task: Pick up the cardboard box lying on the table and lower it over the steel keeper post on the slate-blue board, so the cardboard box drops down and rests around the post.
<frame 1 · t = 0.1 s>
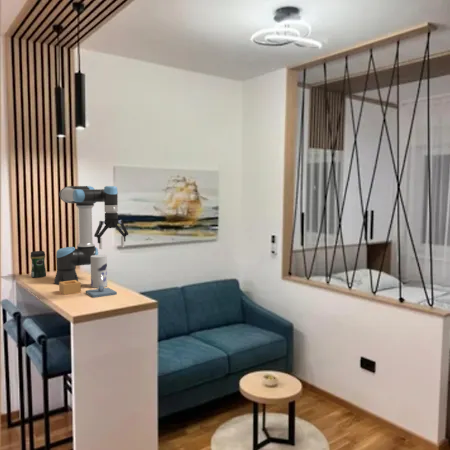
hand: (111, 248, 253), 28 cm above the table, tool pointing down, fingers open, 13 cm apart
cardboard box: (70, 292, 260), on the table
coffee jar: (38, 277, 305), on the table
container: (99, 286, 276), on the table
keeper: (101, 293, 257), on the table
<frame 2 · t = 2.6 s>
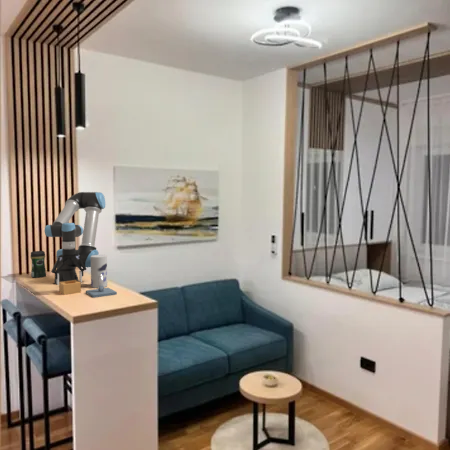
hand: (69, 283, 259), 6 cm above the table, tool pointing down, fingers open, 13 cm apart
nothing on the table moved.
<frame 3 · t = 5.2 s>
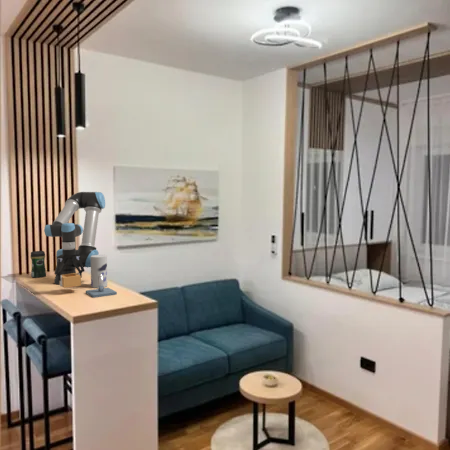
hand: (70, 284, 261), 4 cm above the table, tool pointing down, fingers closed on cardboard box, 10 cm apart
cardboard box: (70, 285, 261), point 4 cm above the table, touching gripper
everything else where it was.
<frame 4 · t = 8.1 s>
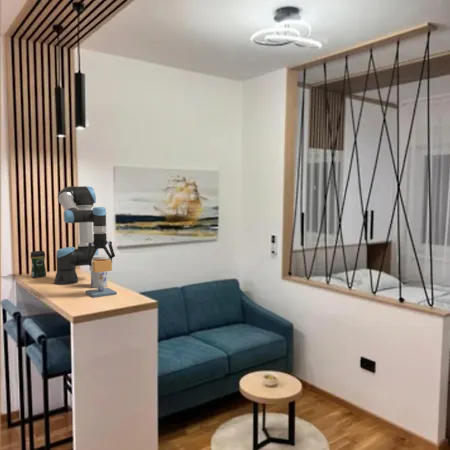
hand: (100, 270, 255), 15 cm above the table, tool pointing down, fingers closed on cardboard box, 10 cm apart
cardboard box: (100, 270, 255), point 14 cm above the table, touching gripper
everything else where it was.
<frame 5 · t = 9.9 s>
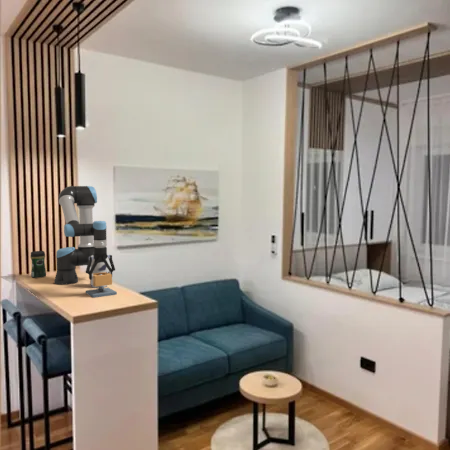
hand: (101, 283, 256), 6 cm above the table, tool pointing down, fingers closed on cardboard box, 10 cm apart
cardboard box: (100, 284, 256), point 6 cm above the table, touching gripper
everything else where it was.
when the fingers open (4 cm above the table, at t = 11.5 s): cardboard box drops 2 cm, resting on keeper.
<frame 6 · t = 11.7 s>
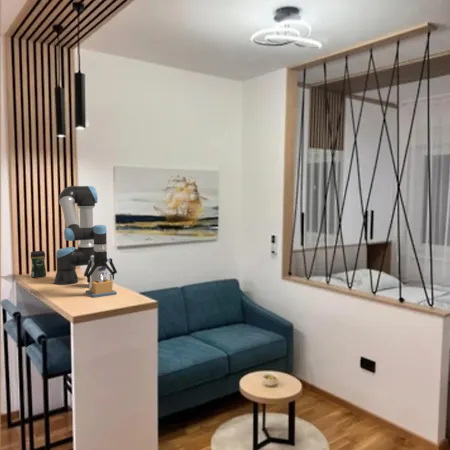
hand: (101, 286, 256), 4 cm above the table, tool pointing down, fingers open, 12 cm apart
cardboard box: (101, 291, 256), point 1 cm above the table, touching keeper
everything else where it was.
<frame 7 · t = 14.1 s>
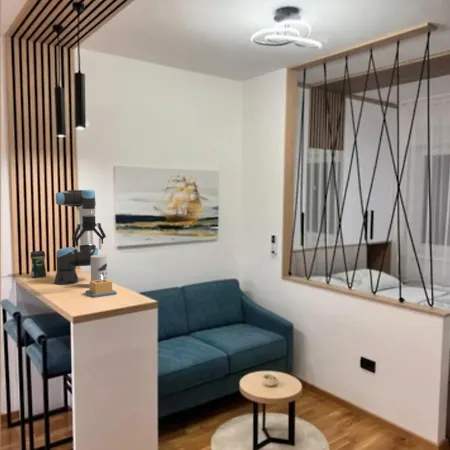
hand: (89, 250, 259), 26 cm above the table, tool pointing down, fingers open, 13 cm apart
nothing on the table moved.
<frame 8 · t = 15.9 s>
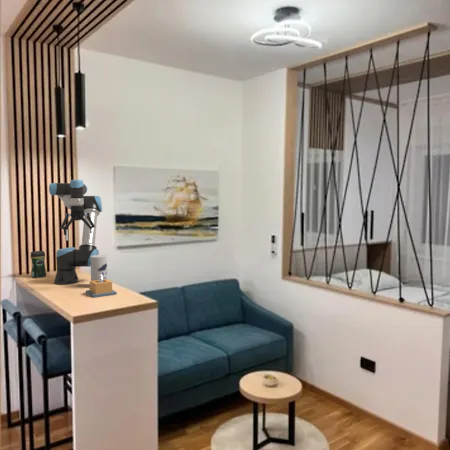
hand: (78, 239, 262), 32 cm above the table, tool pointing down, fingers open, 13 cm apart
nothing on the table moved.
at the end: cardboard box 0.1 cm from the keeper (horizontally); cardboard box point 1.5 cm above the table; the gripper is holding nothing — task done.
